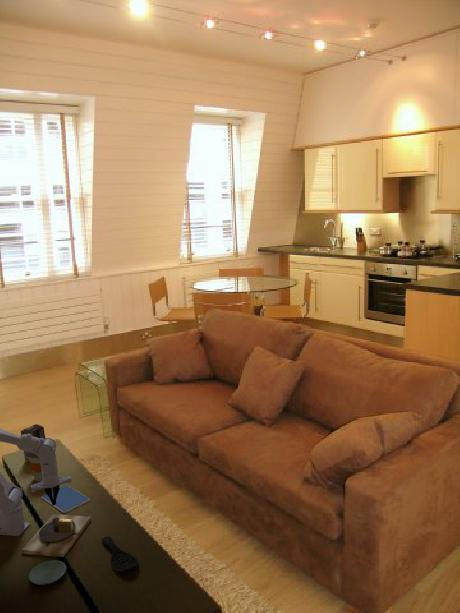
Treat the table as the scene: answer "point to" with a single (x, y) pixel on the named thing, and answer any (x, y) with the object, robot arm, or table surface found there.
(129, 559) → the hairbrush
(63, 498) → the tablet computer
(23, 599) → the table surface
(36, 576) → the saucer
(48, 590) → the table surface
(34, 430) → the coffee box
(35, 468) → the reusable coffee cup
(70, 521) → the dial
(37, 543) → the dial board
